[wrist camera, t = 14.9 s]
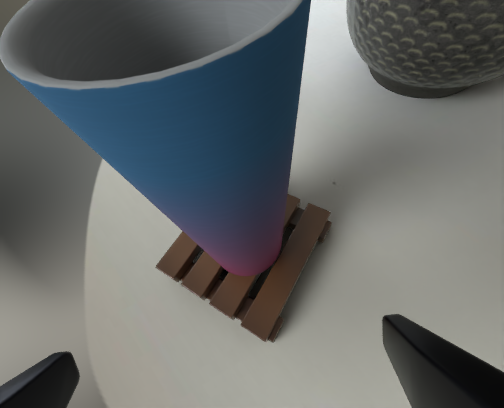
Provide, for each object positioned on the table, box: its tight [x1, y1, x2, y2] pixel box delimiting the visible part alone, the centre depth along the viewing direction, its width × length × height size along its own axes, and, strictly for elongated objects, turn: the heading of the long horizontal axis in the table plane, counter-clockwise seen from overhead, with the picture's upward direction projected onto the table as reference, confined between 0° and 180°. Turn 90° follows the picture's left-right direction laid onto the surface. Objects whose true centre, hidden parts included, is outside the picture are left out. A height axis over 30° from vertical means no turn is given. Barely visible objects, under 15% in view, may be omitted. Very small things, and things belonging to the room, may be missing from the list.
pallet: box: [156, 194, 332, 342], centre depth 19 cm, size 10×10×2 cm
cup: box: [0, 0, 311, 276], centre depth 12 cm, size 7×7×15 cm
